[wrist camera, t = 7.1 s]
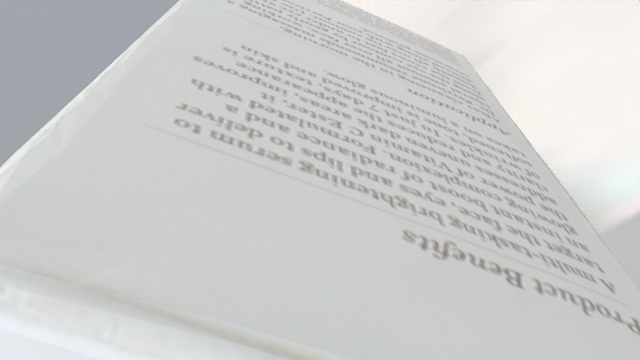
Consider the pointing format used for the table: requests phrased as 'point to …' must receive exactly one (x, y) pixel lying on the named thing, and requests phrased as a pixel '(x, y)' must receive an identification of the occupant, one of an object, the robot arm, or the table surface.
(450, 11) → the table surface
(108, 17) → the platform
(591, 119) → the table surface
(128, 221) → the small box
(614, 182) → the table surface
